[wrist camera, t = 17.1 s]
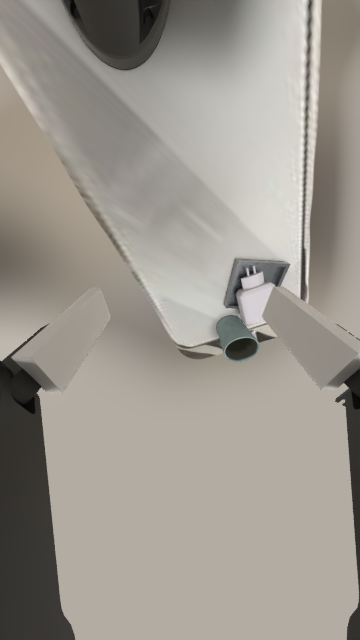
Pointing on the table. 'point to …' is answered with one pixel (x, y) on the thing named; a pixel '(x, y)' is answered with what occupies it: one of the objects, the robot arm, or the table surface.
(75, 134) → the table surface
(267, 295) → the charger
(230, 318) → the green cup
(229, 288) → the gray square tray
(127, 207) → the table surface
